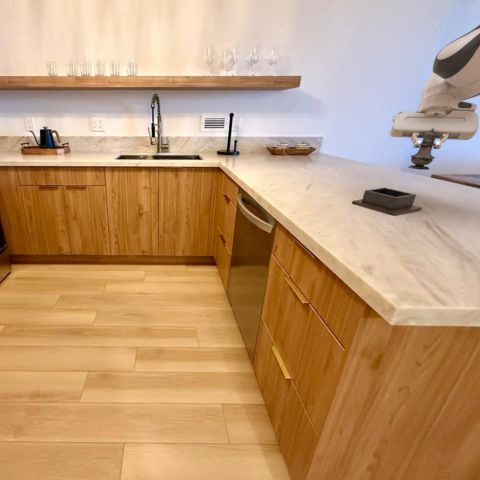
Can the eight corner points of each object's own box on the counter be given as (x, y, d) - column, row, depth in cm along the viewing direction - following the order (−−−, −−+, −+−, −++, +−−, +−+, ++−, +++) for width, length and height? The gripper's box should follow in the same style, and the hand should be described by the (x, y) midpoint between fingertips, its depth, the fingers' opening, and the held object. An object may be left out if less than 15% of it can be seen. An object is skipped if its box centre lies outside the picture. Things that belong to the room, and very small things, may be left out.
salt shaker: (411, 169, 90) (425, 128, 85) (404, 166, 95) (417, 127, 90) (434, 170, 88) (450, 128, 83) (425, 167, 93) (440, 127, 88)
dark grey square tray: (421, 210, 94) (427, 195, 92) (394, 215, 89) (399, 200, 87) (377, 199, 106) (382, 185, 104) (351, 203, 101) (355, 189, 99)
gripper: (397, 104, 94) (388, 138, 91) (484, 104, 84) (477, 142, 80) (392, 118, 99) (383, 151, 96) (473, 120, 89) (466, 156, 86)
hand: (426, 147), depth 88 cm, fingers closed on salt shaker, 3 cm apart
